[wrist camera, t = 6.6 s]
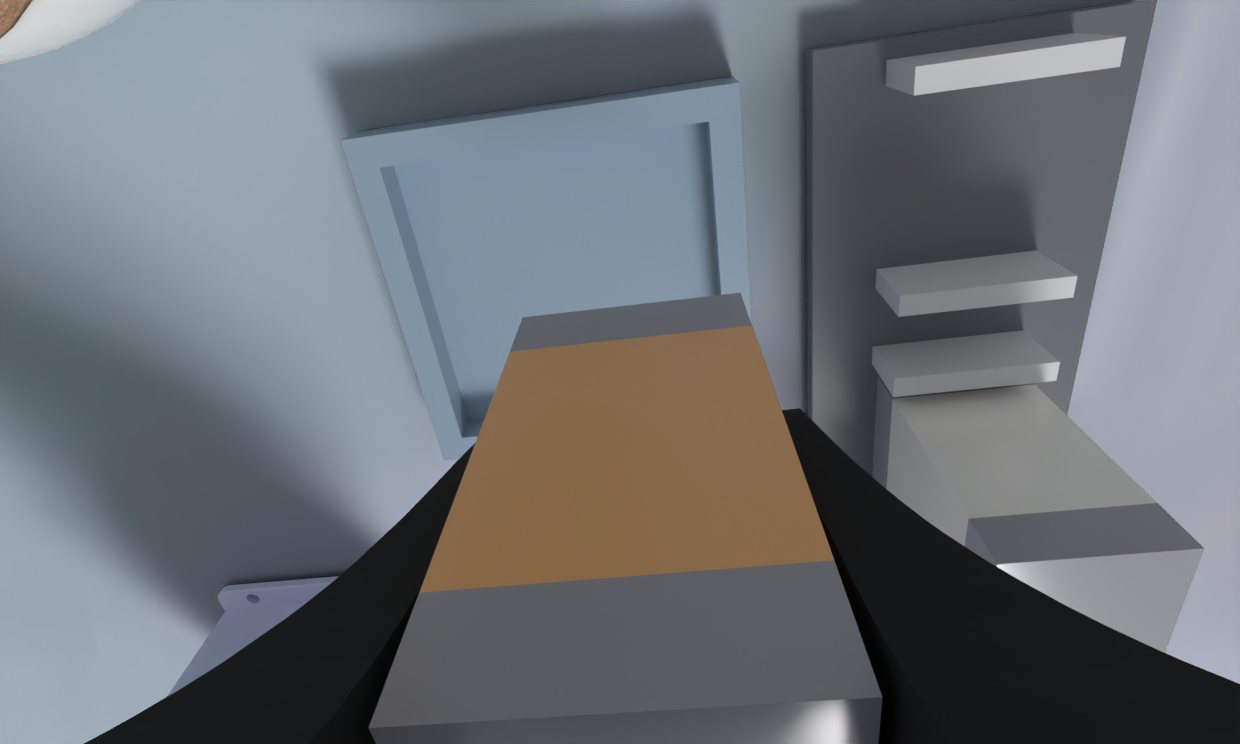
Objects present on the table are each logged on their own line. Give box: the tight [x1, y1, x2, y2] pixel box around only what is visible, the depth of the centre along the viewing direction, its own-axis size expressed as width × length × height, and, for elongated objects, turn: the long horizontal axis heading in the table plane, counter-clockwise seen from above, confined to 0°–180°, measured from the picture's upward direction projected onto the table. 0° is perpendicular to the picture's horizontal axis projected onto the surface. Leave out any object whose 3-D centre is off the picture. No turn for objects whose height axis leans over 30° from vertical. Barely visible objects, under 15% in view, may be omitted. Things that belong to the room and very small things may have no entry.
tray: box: [340, 77, 751, 460], centre depth 20 cm, size 10×10×2 cm
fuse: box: [872, 376, 1204, 653], centre depth 18 cm, size 4×4×8 cm
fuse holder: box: [806, 0, 1157, 476], centre depth 21 cm, size 8×23×3 cm, turn 8°
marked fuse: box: [369, 293, 882, 744], centre depth 10 cm, size 4×4×8 cm
